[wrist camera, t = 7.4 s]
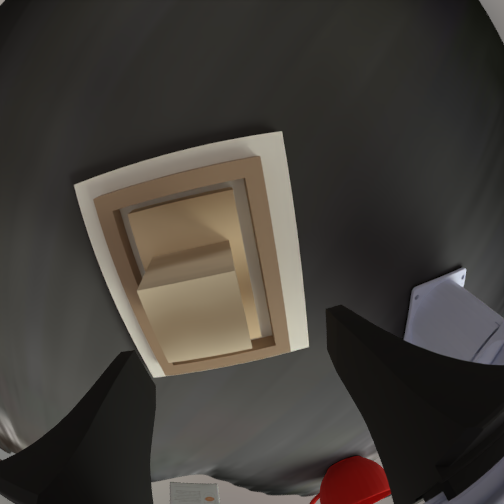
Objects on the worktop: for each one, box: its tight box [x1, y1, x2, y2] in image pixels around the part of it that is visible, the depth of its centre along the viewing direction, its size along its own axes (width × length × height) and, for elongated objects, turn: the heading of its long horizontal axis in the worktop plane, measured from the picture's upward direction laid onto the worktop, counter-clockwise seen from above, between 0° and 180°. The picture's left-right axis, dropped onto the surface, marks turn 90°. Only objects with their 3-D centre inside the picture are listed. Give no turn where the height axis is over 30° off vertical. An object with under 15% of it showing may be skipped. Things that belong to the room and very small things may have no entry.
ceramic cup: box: [310, 456, 391, 504], centre depth 32 cm, size 13×17×10 cm
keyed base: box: [74, 131, 309, 377], centre depth 17 cm, size 16×13×2 cm
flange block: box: [127, 187, 262, 363], centre depth 15 cm, size 10×6×5 cm, turn 10°
